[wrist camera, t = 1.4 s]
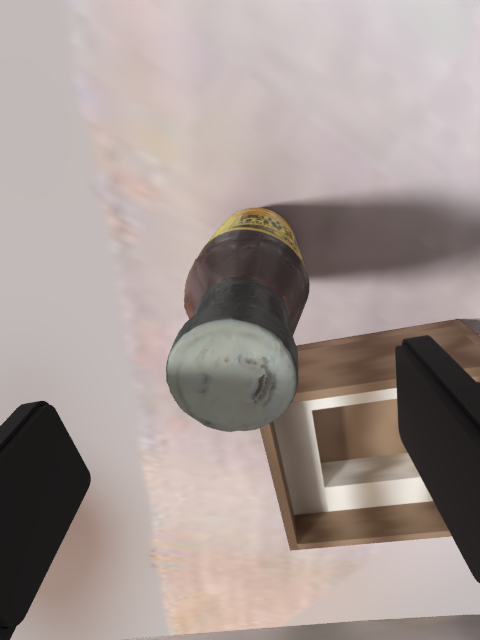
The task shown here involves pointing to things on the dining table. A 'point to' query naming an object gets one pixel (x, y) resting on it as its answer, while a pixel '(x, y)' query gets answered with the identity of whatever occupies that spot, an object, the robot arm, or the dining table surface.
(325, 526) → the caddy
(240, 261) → the sauce bottle
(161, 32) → the dining table surface
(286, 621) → the dining table surface
